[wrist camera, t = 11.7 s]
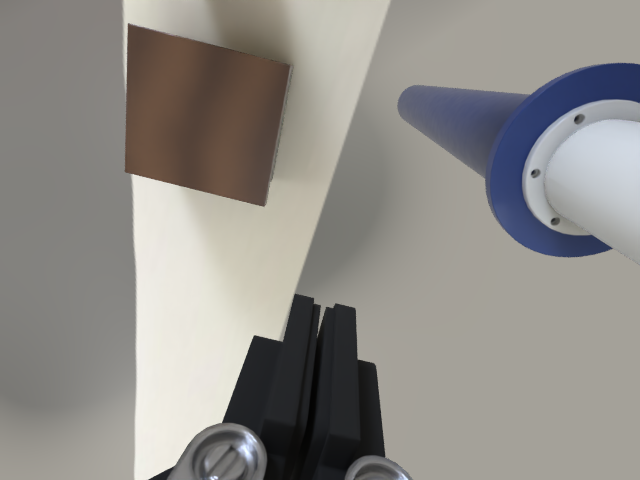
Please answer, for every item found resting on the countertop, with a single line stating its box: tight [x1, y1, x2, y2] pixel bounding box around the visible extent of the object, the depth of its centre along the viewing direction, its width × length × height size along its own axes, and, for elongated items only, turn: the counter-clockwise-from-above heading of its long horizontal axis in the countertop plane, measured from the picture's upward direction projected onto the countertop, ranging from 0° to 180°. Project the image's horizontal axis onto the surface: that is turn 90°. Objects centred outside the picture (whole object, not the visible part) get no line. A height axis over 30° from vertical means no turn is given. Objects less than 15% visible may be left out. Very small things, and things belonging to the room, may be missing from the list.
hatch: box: [125, 23, 292, 207], centre depth 27 cm, size 11×10×1 cm
